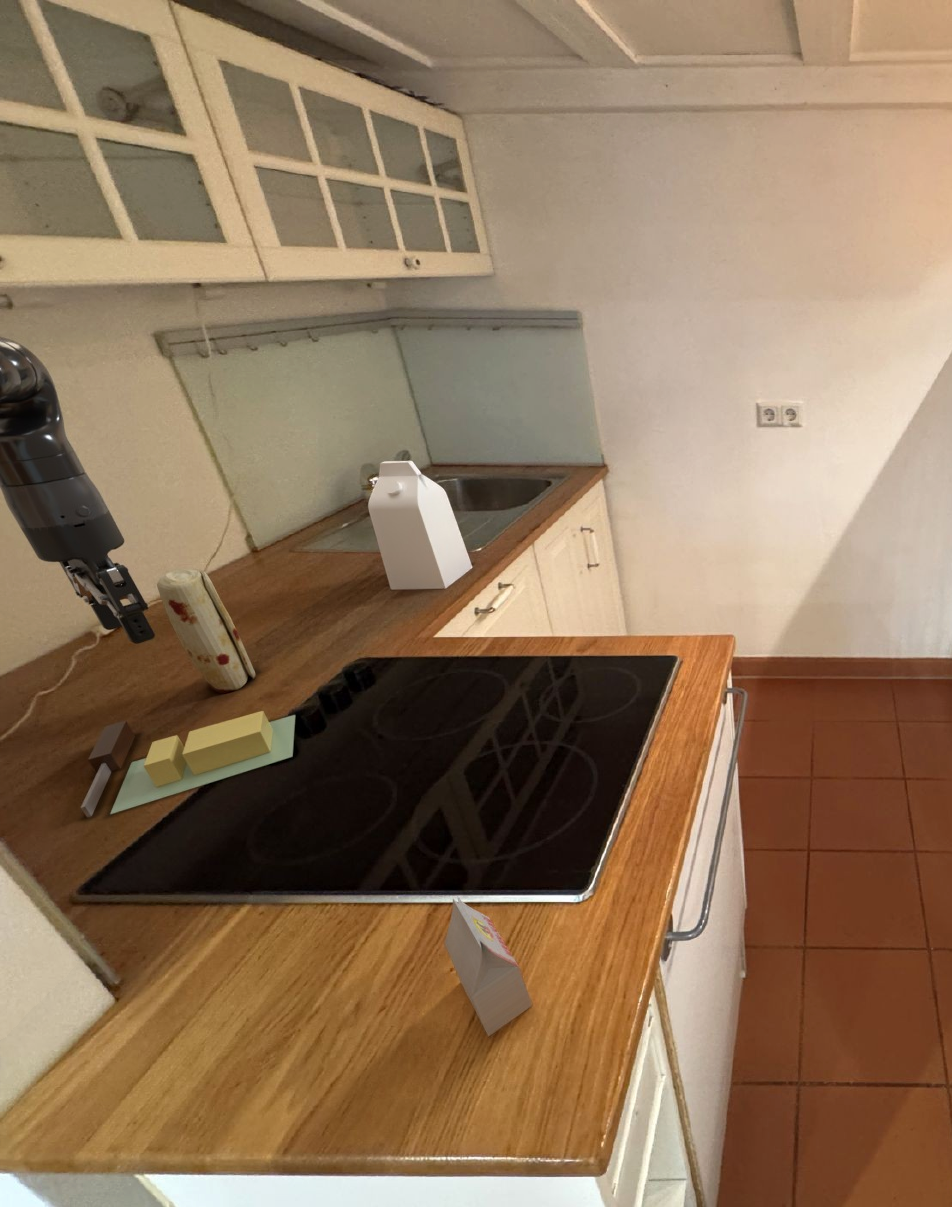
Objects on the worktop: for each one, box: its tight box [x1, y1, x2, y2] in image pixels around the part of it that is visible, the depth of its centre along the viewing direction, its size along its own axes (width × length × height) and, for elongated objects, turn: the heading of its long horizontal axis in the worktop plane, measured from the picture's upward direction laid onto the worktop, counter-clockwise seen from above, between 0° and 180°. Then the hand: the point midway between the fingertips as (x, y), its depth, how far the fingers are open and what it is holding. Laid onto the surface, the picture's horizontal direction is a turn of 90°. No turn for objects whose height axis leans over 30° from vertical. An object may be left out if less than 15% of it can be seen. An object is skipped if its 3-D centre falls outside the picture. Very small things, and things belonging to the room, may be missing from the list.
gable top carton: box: [444, 895, 533, 1037], centre depth 56 cm, size 4×7×10 cm, turn 44°
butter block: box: [182, 710, 273, 775], centre depth 89 cm, size 8×6×4 cm
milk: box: [367, 460, 473, 591], centre depth 140 cm, size 12×12×26 cm
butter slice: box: [143, 734, 187, 787], centre depth 85 cm, size 2×6×4 cm, turn 35°
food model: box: [156, 568, 256, 694], centre depth 103 cm, size 10×7×20 cm
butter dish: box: [109, 714, 296, 815], centre depth 88 cm, size 18×12×1 cm, turn 125°
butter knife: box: [80, 720, 136, 818], centre depth 86 cm, size 2×19×4 cm, turn 35°
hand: (130, 633), depth 86 cm, fingers open, 8 cm apart
